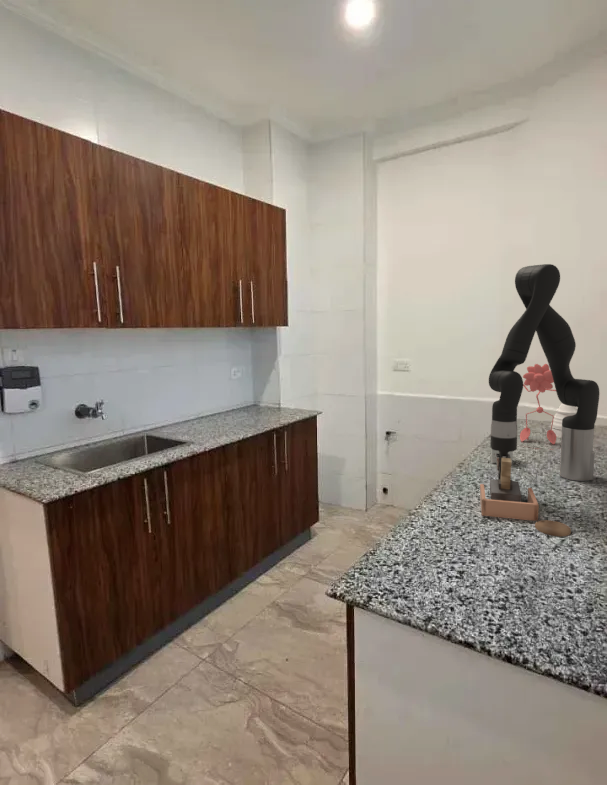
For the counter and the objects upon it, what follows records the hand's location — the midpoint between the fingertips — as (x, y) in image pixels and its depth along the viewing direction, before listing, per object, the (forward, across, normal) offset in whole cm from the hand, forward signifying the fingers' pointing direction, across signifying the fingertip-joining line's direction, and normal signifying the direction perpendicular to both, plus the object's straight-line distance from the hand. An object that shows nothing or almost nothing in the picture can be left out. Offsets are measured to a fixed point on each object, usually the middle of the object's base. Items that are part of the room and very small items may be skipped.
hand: (502, 487), depth 141 cm
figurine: (+1, +62, -18) cm, 65 cm away
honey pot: (+2, +82, -32) cm, 88 cm away
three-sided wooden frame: (+1, -14, 0) cm, 14 cm away
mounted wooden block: (0, -6, 0) cm, 6 cm away
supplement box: (+1, +33, -2) cm, 33 cm away
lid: (+2, -25, -10) cm, 27 cm away
